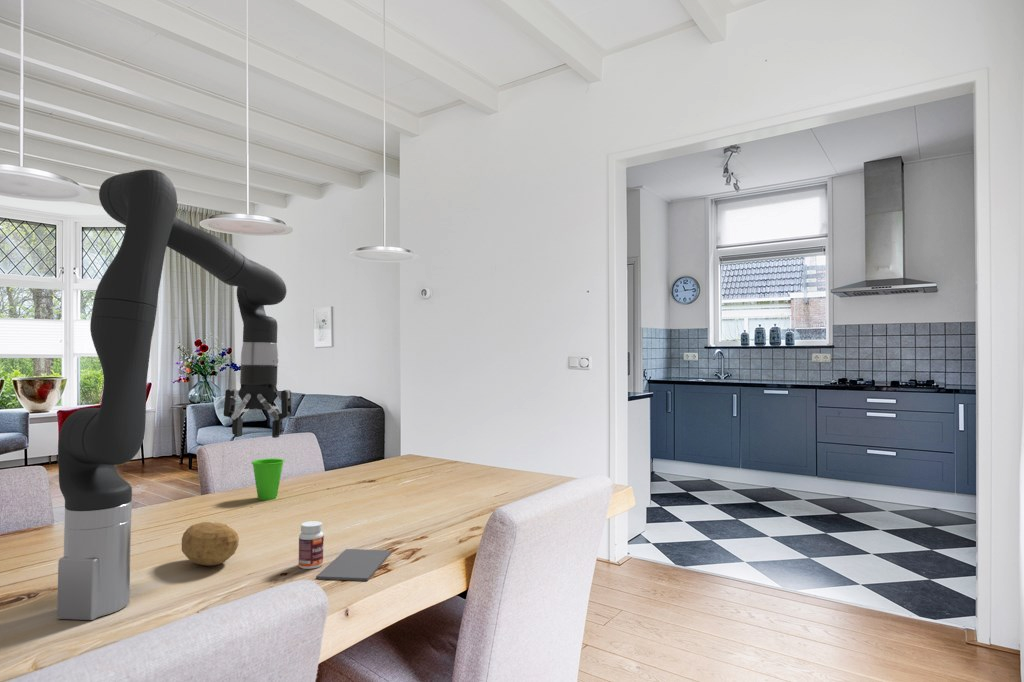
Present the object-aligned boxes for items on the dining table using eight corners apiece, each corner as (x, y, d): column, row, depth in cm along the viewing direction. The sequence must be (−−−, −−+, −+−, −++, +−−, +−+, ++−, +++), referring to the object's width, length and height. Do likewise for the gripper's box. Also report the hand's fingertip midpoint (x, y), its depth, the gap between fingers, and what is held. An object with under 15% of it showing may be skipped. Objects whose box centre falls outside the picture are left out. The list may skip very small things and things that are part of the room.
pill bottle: (315, 570, 117) (316, 527, 117) (293, 568, 118) (294, 526, 118) (327, 562, 121) (328, 521, 122) (306, 560, 122) (307, 519, 122)
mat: (367, 580, 111) (367, 578, 111) (316, 578, 112) (316, 576, 112) (391, 552, 127) (391, 550, 127) (346, 551, 128) (346, 548, 128)
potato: (214, 550, 128) (215, 513, 128) (250, 564, 120) (251, 524, 120) (167, 563, 120) (168, 523, 120) (201, 578, 112) (202, 536, 112)
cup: (250, 496, 177) (251, 459, 177) (282, 493, 181) (283, 457, 181) (251, 503, 169) (251, 464, 169) (285, 500, 173) (285, 462, 173)
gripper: (218, 362, 128) (216, 438, 127) (283, 363, 127) (281, 439, 126) (236, 363, 135) (234, 434, 134) (297, 363, 134) (295, 435, 134)
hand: (257, 436), depth 130 cm, fingers open, 8 cm apart
